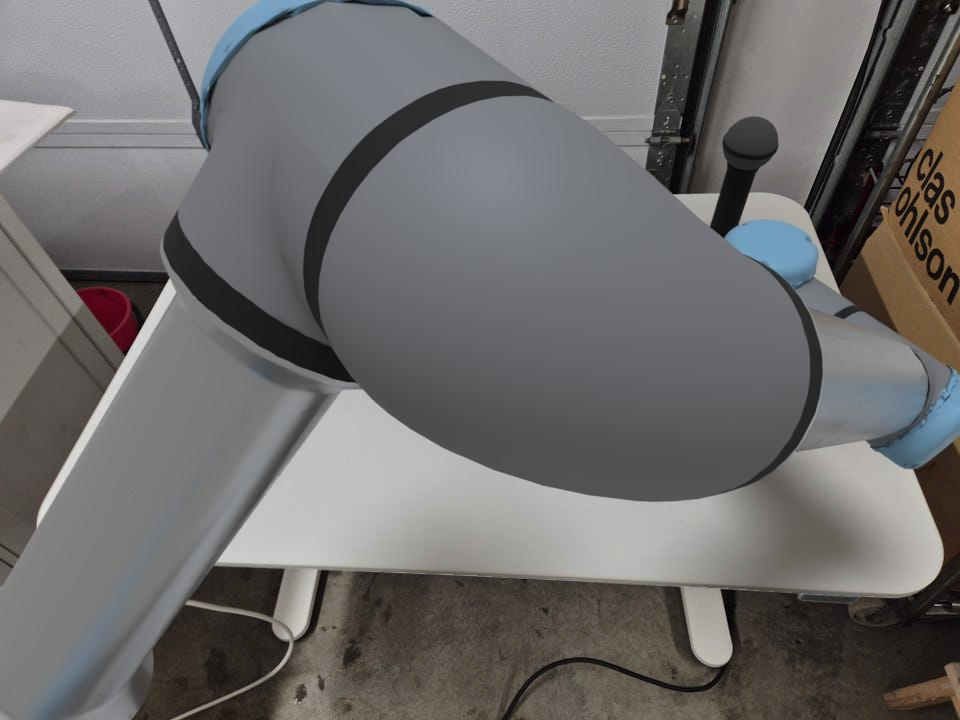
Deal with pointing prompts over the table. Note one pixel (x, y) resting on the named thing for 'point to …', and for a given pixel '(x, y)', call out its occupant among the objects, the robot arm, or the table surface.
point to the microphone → (742, 168)
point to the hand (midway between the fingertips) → (490, 239)
